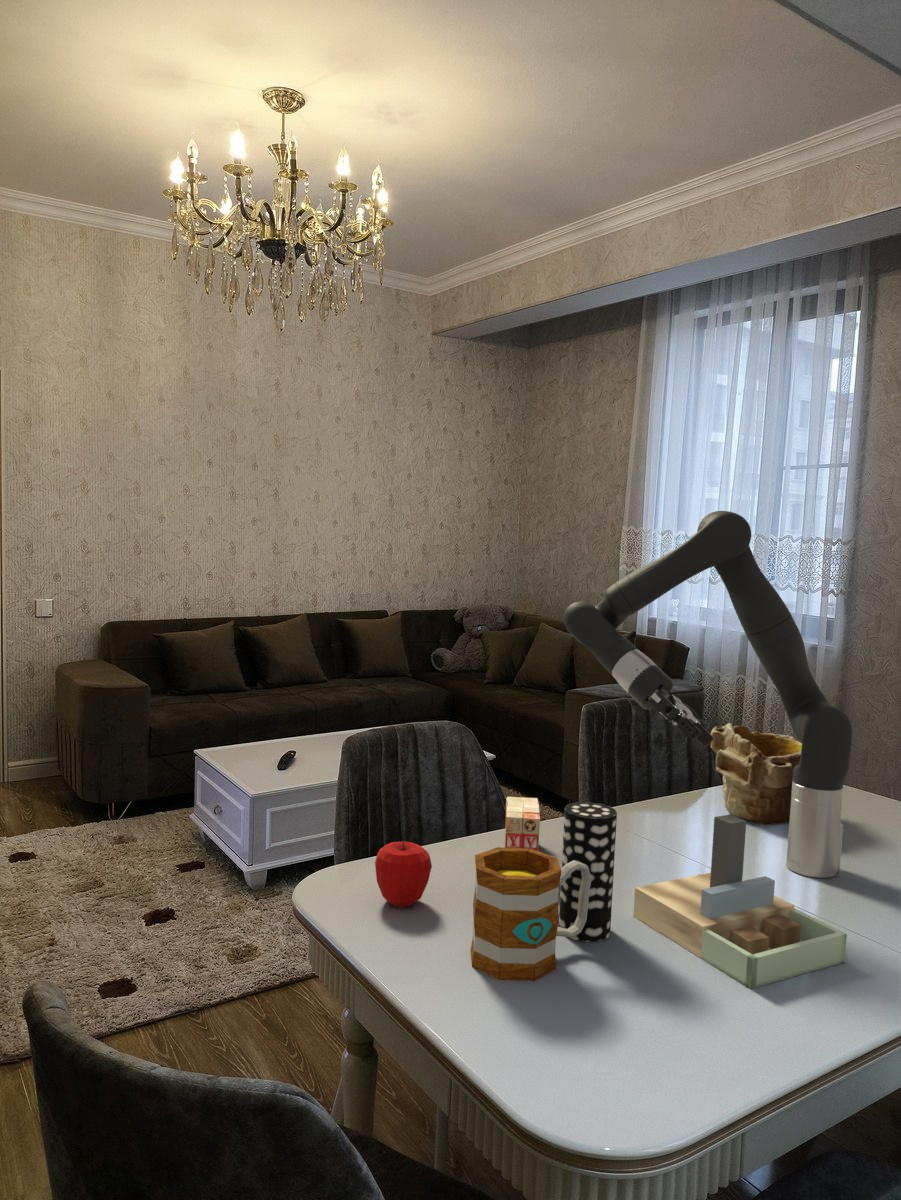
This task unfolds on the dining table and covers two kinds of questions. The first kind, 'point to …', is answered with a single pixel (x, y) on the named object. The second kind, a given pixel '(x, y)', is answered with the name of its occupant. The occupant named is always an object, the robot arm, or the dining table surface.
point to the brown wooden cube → (749, 939)
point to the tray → (778, 954)
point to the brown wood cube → (781, 931)
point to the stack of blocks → (522, 823)
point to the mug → (521, 912)
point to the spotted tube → (594, 846)
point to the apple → (402, 872)
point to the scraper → (732, 873)
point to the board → (694, 912)
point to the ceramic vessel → (756, 772)
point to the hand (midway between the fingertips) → (703, 739)
